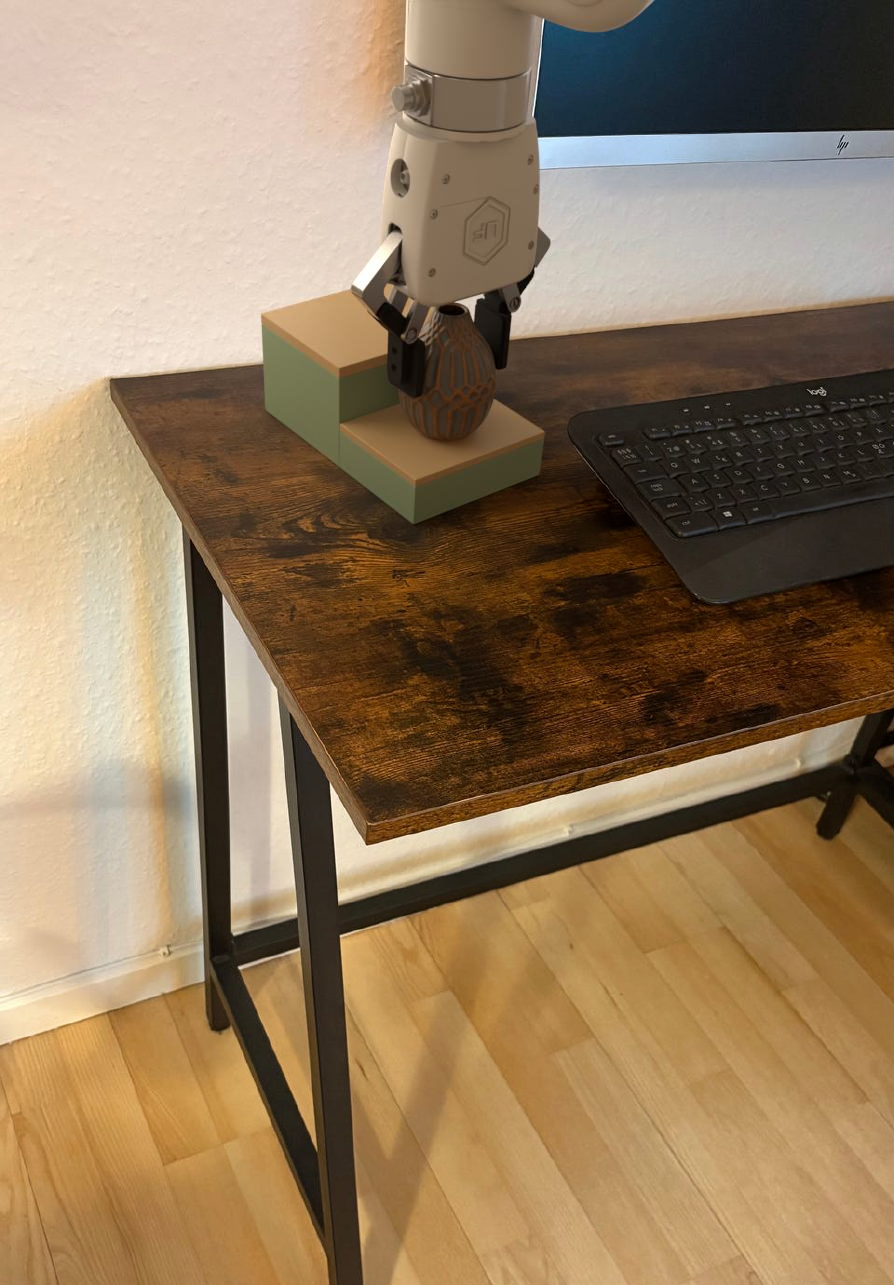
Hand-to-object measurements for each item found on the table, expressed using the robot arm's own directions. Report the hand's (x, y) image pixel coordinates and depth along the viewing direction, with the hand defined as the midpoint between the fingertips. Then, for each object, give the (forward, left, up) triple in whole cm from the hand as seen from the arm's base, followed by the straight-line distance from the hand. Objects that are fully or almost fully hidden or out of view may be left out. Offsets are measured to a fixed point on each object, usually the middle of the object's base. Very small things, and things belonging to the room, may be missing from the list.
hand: (447, 373), depth 86 cm
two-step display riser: (+2, -5, -8) cm, 9 cm away
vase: (0, 0, -4) cm, 4 cm away
